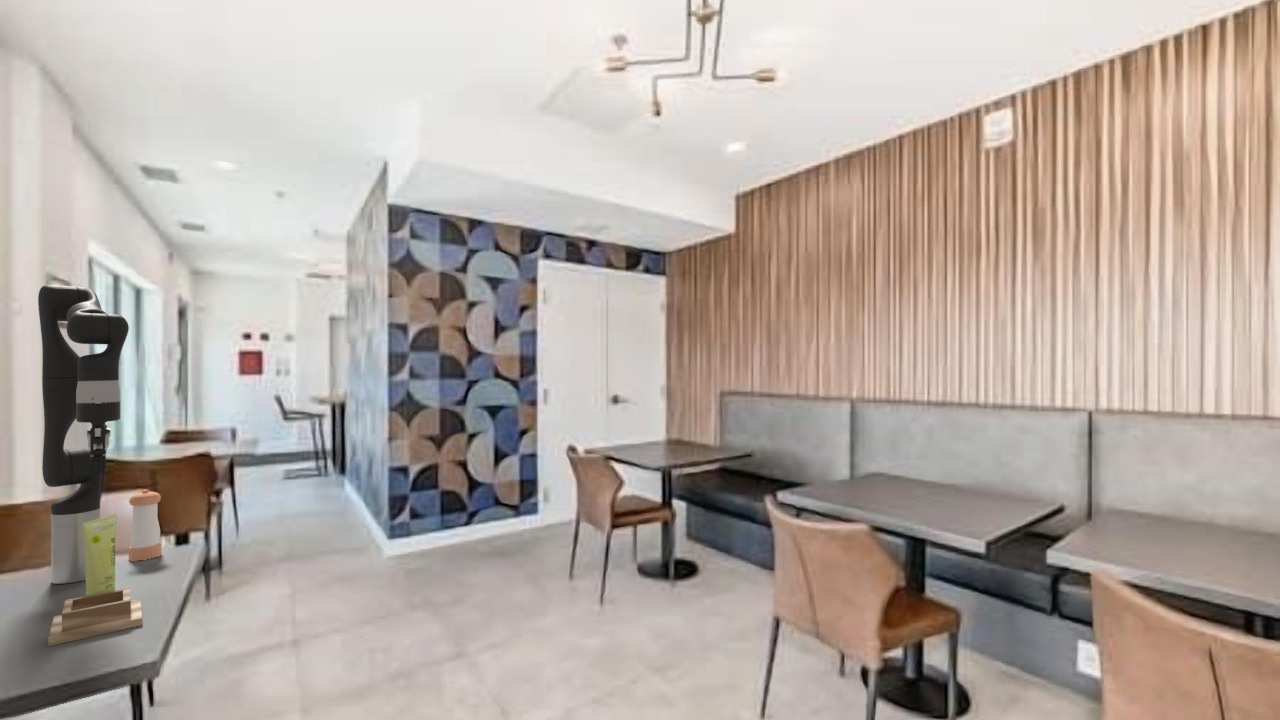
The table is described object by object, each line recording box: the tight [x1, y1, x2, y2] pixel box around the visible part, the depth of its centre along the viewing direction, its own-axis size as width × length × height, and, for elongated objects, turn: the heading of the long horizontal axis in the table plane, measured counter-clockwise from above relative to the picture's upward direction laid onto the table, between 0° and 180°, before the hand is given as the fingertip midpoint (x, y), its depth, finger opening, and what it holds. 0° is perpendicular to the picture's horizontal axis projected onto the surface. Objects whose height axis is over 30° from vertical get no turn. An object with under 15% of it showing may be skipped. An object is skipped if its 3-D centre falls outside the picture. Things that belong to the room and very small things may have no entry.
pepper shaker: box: [128, 489, 163, 562], centre depth 172 cm, size 7×7×19 cm
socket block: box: [47, 587, 143, 647], centre depth 126 cm, size 14×14×5 cm
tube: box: [83, 513, 118, 596], centre depth 138 cm, size 6×5×20 cm
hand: (98, 471), depth 138 cm, fingers open, 8 cm apart
